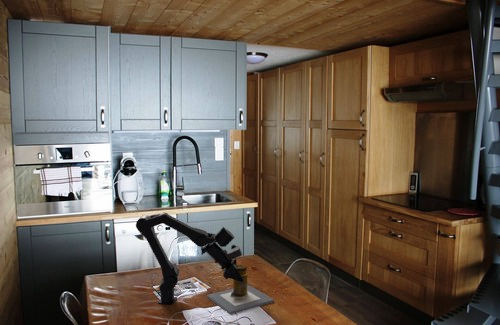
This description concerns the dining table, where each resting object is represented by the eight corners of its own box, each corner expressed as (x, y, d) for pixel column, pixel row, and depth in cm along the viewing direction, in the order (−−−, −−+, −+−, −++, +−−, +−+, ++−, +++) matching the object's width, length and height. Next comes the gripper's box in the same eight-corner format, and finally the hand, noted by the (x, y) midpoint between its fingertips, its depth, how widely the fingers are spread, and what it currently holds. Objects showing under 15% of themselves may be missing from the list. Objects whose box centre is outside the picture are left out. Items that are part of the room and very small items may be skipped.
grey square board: (230, 314, 167) (230, 311, 167) (206, 297, 184) (206, 294, 184) (273, 301, 179) (273, 299, 179) (248, 286, 196) (248, 284, 196)
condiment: (248, 290, 184) (249, 264, 183) (247, 298, 176) (247, 271, 175) (232, 290, 185) (232, 263, 184) (230, 297, 176) (230, 270, 175)
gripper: (231, 247, 170) (258, 273, 171) (230, 235, 188) (254, 258, 190) (212, 266, 170) (238, 292, 171) (212, 252, 188) (236, 275, 190)
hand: (242, 278), depth 181 cm, fingers closed on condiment, 6 cm apart
